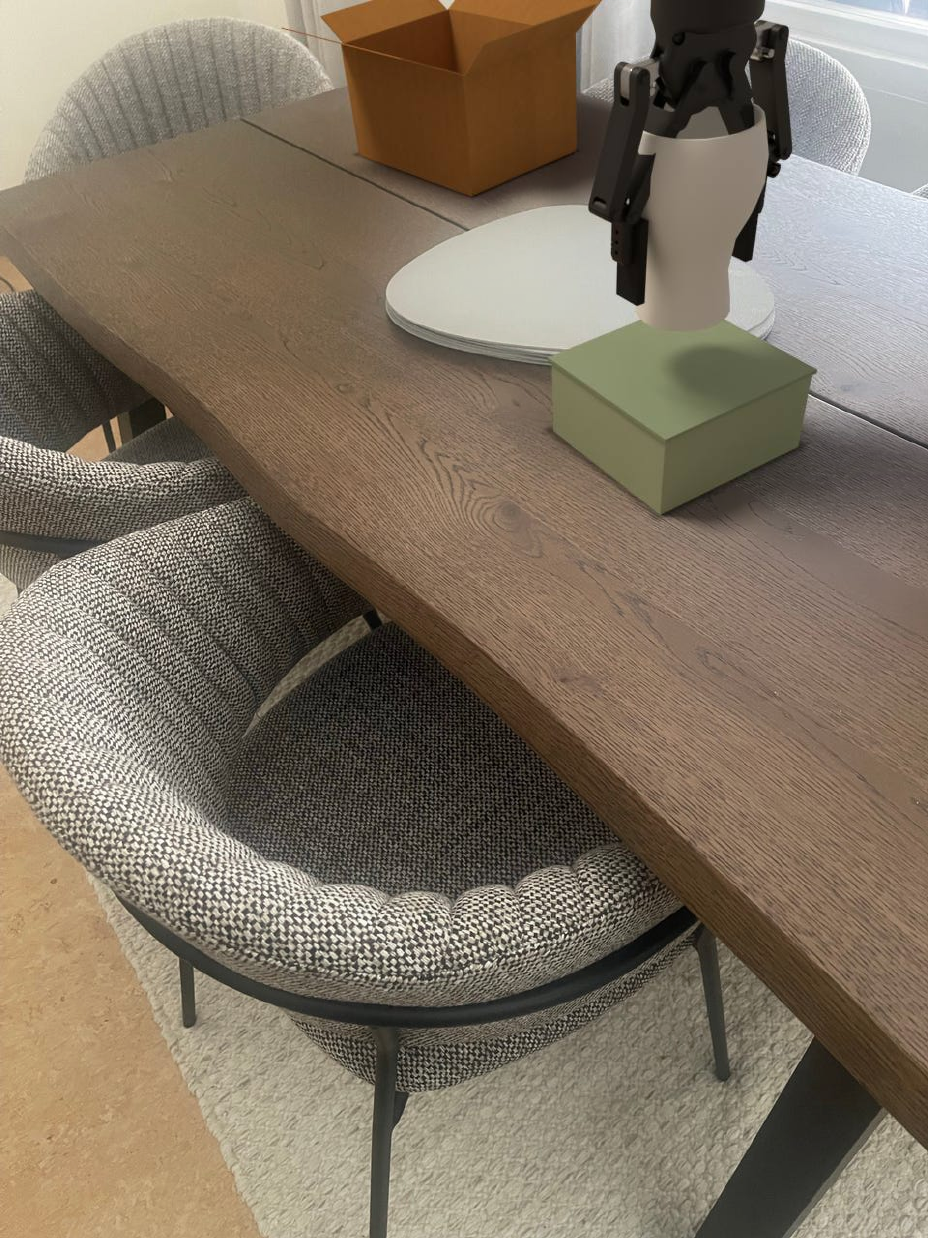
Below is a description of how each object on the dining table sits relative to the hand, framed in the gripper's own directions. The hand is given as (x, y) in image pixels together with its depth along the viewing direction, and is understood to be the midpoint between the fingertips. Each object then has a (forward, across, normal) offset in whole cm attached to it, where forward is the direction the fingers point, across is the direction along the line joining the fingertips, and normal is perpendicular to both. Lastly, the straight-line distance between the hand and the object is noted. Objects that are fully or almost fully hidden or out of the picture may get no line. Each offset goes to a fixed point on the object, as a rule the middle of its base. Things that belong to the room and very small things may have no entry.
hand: (685, 276), depth 76 cm
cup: (+3, 0, 0) cm, 3 cm away
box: (+16, -24, -78) cm, 83 cm away
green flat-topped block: (+16, 0, 0) cm, 16 cm away
